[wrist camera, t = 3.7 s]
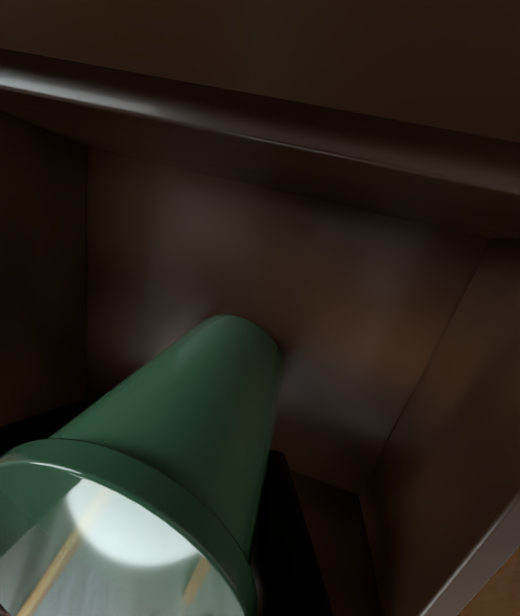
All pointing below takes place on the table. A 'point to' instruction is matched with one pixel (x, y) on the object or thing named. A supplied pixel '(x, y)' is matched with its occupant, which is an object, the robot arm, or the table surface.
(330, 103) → the lid
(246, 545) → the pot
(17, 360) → the wooden box
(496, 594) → the table surface
